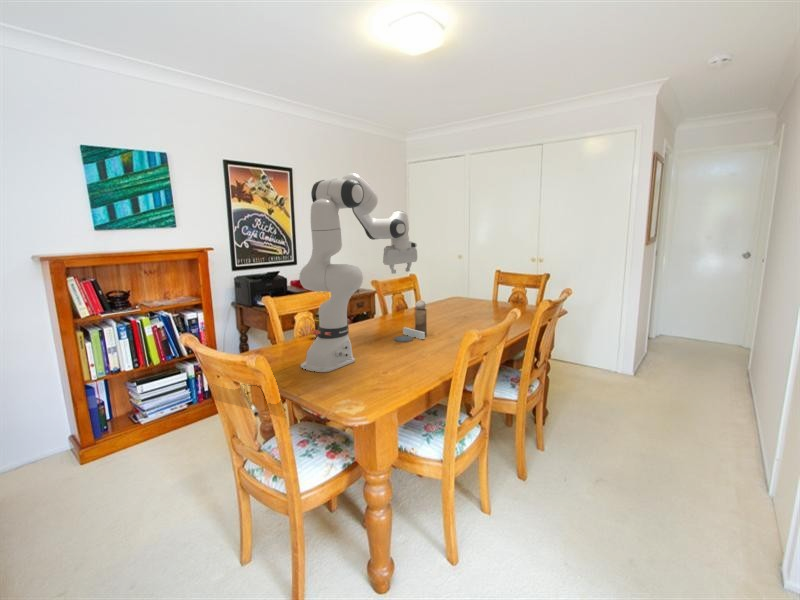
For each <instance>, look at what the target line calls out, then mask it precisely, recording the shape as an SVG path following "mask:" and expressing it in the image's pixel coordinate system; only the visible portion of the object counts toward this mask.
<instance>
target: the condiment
mask: <svg viewBox="0 0 800 600" xmlns="http://www.w3.org/2000/svg"><path fill="white" fill-rule="evenodd" d="M319 326H320V325H319V312H318V313H317V312H316V313H315V314H314V330H318V327H319ZM314 337H316V338H317V335H314Z"/></svg>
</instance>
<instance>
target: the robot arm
mask: <svg viewBox="0 0 800 600" xmlns="http://www.w3.org/2000/svg"><path fill="white" fill-rule="evenodd" d="M378 199H379V197H378V195H377V193H376V191H375V190H374V188H373V187H372V186H371V185H370V184H369V183H368V182H367V181H366V180H365V179H364V178H363V177H362V176H361V175H359V174H357V173H354V172H351V173H347V174H345V175H344V176H343V177H342V178H341V179H339V178H331V179H322V180H318V181H317V182H315V183H313V185H312V188H311V201H312V204H311V206H310V229H311V230H310V231H311V232H310V233H311V240H312V241H311V242H312V243H311V244H312V251H311V255H310V259H309V260H308V262H307V264H305V265H304V266H303V267H302V268H301V270H300V272H299V275H298V277H299V283H300V285H301V286H302V288H303V289H305V290H309V291H312V292H321V293H322V292H325V293H329V292H330V298H329V299H328V300H326V301H325V300H324V302H323V303H321V304H320V306H319V307H318V313H319V325H320V326H319V327H318V330H315V329H313V330H312V335H314V336H315V335H317V338H316V339H314V341H313V343H311V345H310V347H309V348H308V350H307V351H306V357H305V358H306V359H305V361H304V362H301V364H300V368H301V369H302V368H303V369H302V370H305V369H306V371H309V372H310V371H311V372H314V371H315V372H317V373H330V372H332V371H335V370H338V369H340V368H342V367H345V366H347V365H349V364H352V363H355V362H356V358H355V357H354V355H353V350H352V343H351V342H352V341H351V340H350V337H349V333H350V332H349V324H348V306H349V302H350V299H351V297H352V296H353V294H355V293H356V292H357V291H358V290H360V288H361V286H362V284H363V280H364V277H363V272H362V270H361V269H360V268H359V267H358V266H356V265H352V264H347V263H341V264H340V263H331V258H332V257H333V256H335V255H337V254H339V252H340V251H341V250H342V248H343V241H342V229H341V221H340V215H339V210H341V209H351V210H352V213H353V214H354V216H355V218H356V220H357V221H358V222H359V224H360V225H361V226H362V228H363V230H364V232H365V235H366V236H367V237H368V238H369V240H370V239H371V240H373V241H374V240H390V245H386V246H384V248H383V254H382V255H383V257H382V259H383V260H382V263H383V265H385V266H389V269H390V270H391V275H392V274H393V275H394V274H396V273H397V270H396V269H395V268H394V267H395V265H400V264H406V265H407V266H406V267H405V272H407V273H409V272H411V267H412V263H416V262H417V260H418V250H417V249H418V248H417V246H418V244H417V243H416V242H413V241H410V237H409V229H410V227H409V226H410V225H409V222H410V221H409V216H408V213H407V212H406V211H402V210H401V211H400V210H395V211H394V210H393V211H392V212H391V215H390V217H388V218H387V217H386V218H374V217H372V215H371V213H372V212H373V211H374V210H375V209H376V207H377V205H378ZM315 372H314V373H315Z"/></svg>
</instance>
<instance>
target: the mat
mask: <svg viewBox="0 0 800 600" xmlns="http://www.w3.org/2000/svg"><path fill="white" fill-rule="evenodd" d="M393 340H394V341H395V342H397V343H409V341H410V342H412V340H413V341H414V337H411V336H407V335H399V336H398V335H397V336H395V337H394V339H393Z"/></svg>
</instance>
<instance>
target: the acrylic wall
mask: <svg viewBox="0 0 800 600" xmlns="http://www.w3.org/2000/svg"><path fill="white" fill-rule="evenodd" d="M402 332H403V333H402V335H403V336H407V335H408V336H412V337H413V338H414V337H416V338H415V339H418V338H419V339H418V340H421V339H425V340H426V336H425V332H421V331H418V330H415V328H410V327H406V326H404V327H402Z"/></svg>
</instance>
